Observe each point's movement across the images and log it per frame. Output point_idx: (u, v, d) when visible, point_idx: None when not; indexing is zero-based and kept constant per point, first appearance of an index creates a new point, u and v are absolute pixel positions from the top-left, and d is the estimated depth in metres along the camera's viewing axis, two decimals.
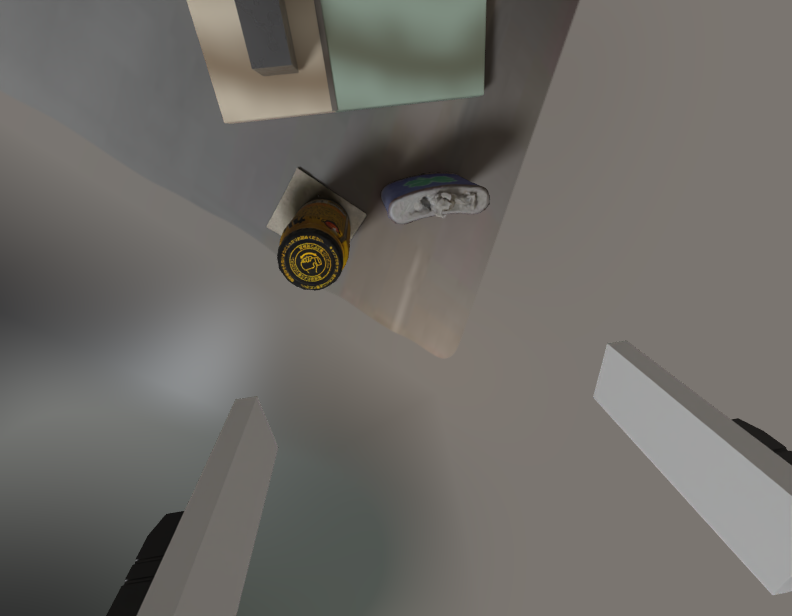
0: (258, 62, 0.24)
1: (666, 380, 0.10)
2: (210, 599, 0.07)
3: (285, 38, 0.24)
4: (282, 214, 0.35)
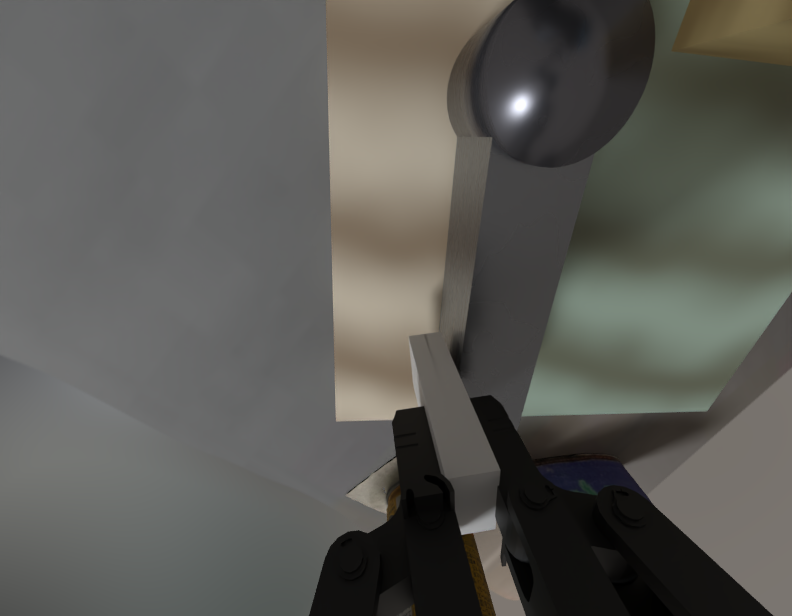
0: None
1: (444, 363, 0.12)
2: None
3: (521, 409, 0.14)
4: (372, 485, 0.24)
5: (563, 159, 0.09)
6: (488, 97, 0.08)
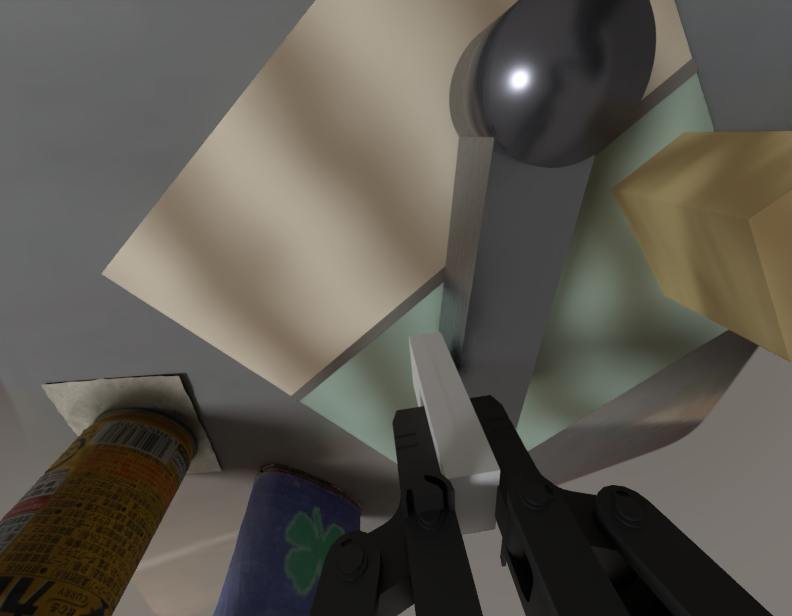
0: None
1: (444, 364, 0.12)
2: None
3: (520, 408, 0.14)
4: (90, 393, 0.18)
5: (564, 159, 0.09)
6: (490, 97, 0.08)
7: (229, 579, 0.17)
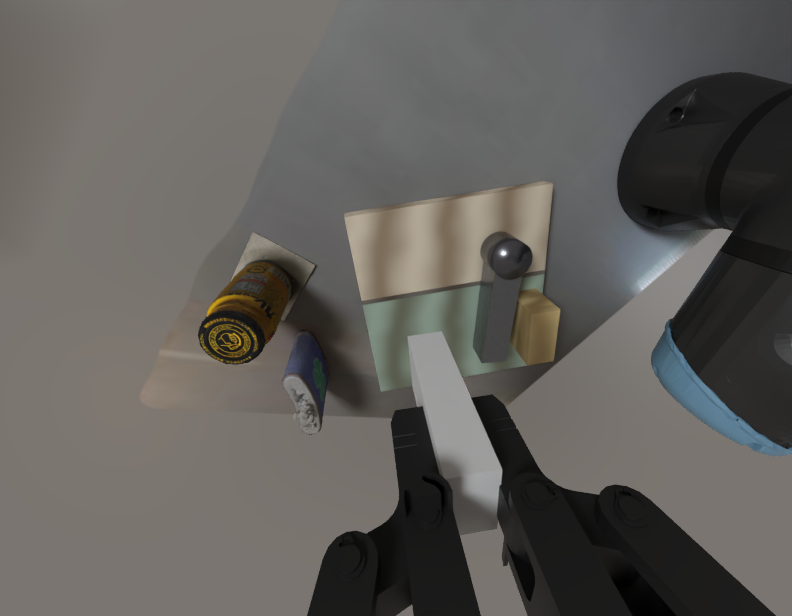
0: (486, 360, 0.39)
1: (446, 363, 0.12)
2: None
3: (507, 350, 0.38)
4: (269, 248, 0.35)
5: (513, 277, 0.33)
6: (493, 267, 0.32)
7: (294, 361, 0.35)
